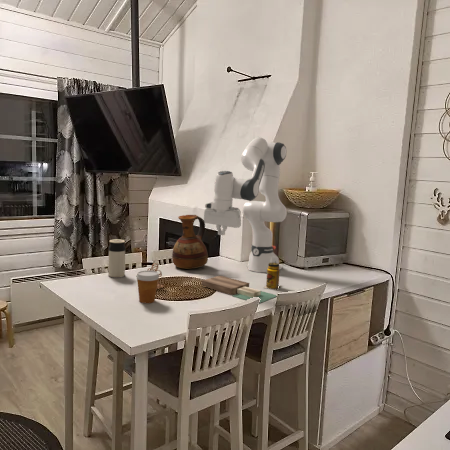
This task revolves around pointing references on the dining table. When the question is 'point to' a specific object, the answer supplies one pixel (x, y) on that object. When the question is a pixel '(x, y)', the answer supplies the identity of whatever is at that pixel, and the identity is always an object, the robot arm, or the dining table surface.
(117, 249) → the travel mug
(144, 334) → the dining table surface
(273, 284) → the condiment
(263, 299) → the mat
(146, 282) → the disposable coffee cup
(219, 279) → the board
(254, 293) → the tile
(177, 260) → the ceramic pitcher
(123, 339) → the dining table surface
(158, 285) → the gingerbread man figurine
